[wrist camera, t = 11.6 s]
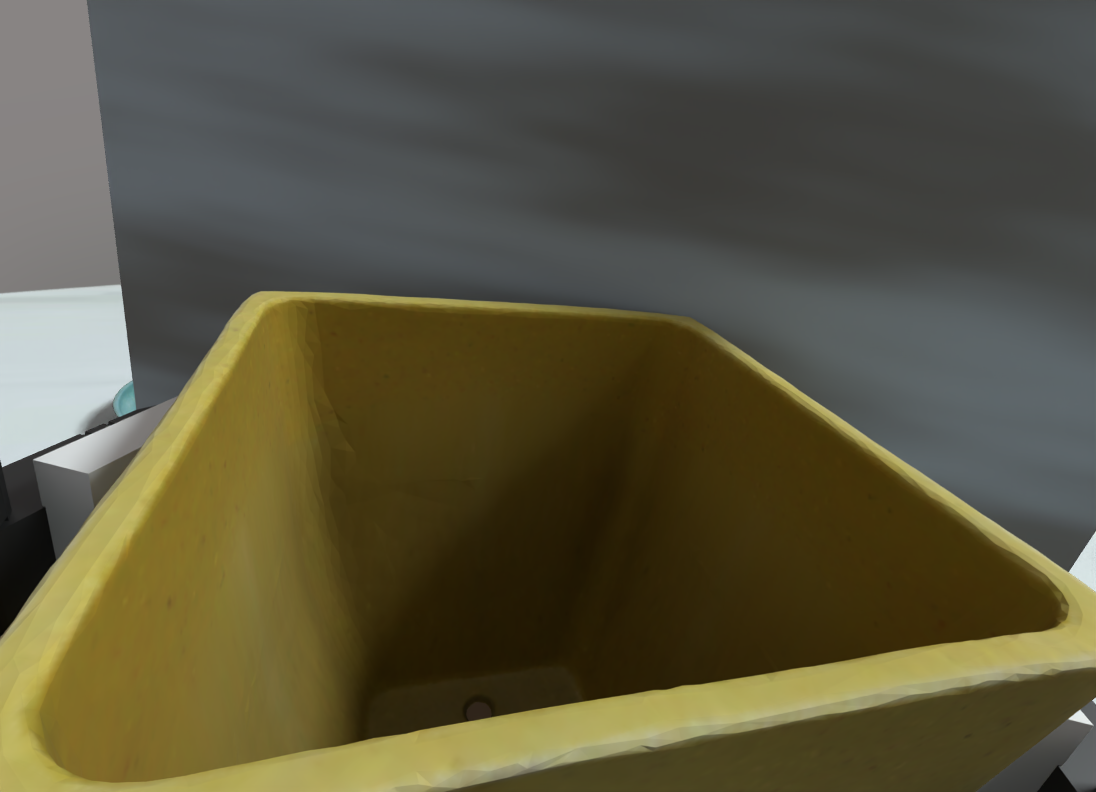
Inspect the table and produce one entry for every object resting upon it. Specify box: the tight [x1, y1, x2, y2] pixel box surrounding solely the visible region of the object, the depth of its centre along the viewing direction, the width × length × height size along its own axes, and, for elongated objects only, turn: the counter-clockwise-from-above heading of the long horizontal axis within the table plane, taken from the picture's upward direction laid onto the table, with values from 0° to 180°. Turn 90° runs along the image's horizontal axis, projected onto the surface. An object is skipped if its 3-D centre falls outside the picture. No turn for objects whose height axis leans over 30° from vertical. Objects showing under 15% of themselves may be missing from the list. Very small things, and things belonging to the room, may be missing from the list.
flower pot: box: [0, 291, 1096, 792], centre depth 9 cm, size 9×9×9 cm
